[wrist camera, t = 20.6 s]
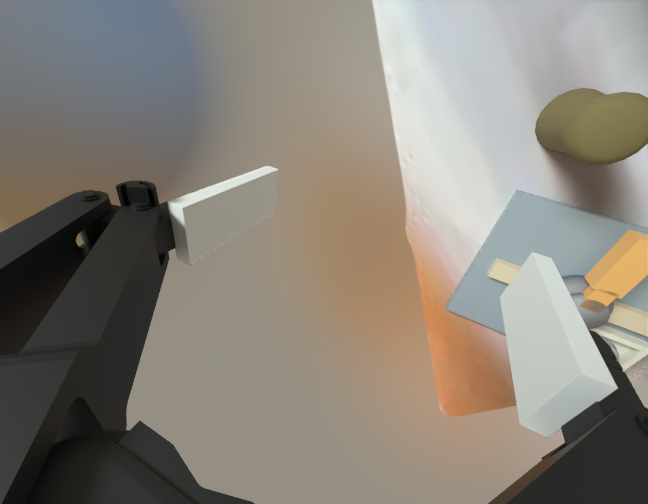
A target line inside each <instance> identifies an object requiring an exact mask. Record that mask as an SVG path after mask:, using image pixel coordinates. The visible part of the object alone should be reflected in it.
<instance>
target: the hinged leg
mask: <svg viewBox="0 0 648 504" xmlns="http://www.w3.org/2000/svg"><path fill="white" fill-rule="evenodd" d="M647 275H648V235H647V234H643V233H640V232H637V231H633V230H630V229H629V230H628V231H627V232H626V233H625V234H624V235H623V236H622V237H621V239H620V240H619V241H618V242H617V243H616V244H615V245H614V246H613V247H612V248H611V249H610V250H609V251H608V252H607V253H606V255H605V256H604V257H603V258H602V259H601V260H600V261H599V262H598V263H597V264H596V265H595V266H594V267H593V268H592V269H591V270H590V272H589V273H588V274H587V275H586V276H585V277H584V278H585V279H586V281H587V282H588V284H589V285H590V286H589V287H588V288H587V289H586V290H585V291H584V292H583V293H574V294H570V295H571V297H572V299H573V301H574V303H575V305H576V307H577V309H578V311H579V313H580V315H581V317H582V319H583V321H584V323H585V325H586V327H587V329H594V328H598V327H600V326H602V325H604V324H605V323H606V322H607V321H608V320H609V318H610V311H609V309H608V307H607V306H608V305H609V304H610V303H611V302H612V301H613V300H614V299H616V298H620V299H622V298H623V297H624V296H625V295H626V294H627V293H628V292H629V291H630V290H631V289H633V288H634V287H635V286H636V285H637V284H638V283H639V282H640V281H641V280H643V279H644V278H645V277H646V276H647Z"/></svg>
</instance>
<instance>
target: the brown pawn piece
mask: <svg viewBox="0 0 648 504" xmlns="http://www.w3.org/2000/svg"><path fill="white" fill-rule="evenodd" d="M535 132H536V136H537V140H538V141H539V142H540V143H541V145H542V146H543V147H545V148H547V149H549V150H552V151H558V152H567V153H568V154H569V155H570V156H571V157H572V158H573V159H575V160H577V161H579V162H581V163H583V164H589V165H604V164H612V163H615V162H618V161H621V160H624V159H626V158H628V157H630V156H632V155H633V154H635V153H637V152H638V151H639V150H640V149H642V148H643V147H644V146H645V145H646V144H647V143H648V98H647V97H645V96H643V95H641V94H639V93H629V92H620V93H614V94H609V95H605V94H603V93H601V92H599V91H597V90H595V89H586V88H581V89H576V90H571V91H568V92H566V93H564V94H562V95H559V96H558V97H557V98H555V99H554V100H553V101H551V102H550V103H549V104H548V105H547V106H546V107H545V108H544V109H543V111H542V112H541V113H540V116H539V118H538V120H537V122H536V129H535Z"/></svg>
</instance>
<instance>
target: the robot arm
mask: <svg viewBox="0 0 648 504" xmlns="http://www.w3.org/2000/svg"><path fill="white" fill-rule="evenodd" d="M277 183H278V169H276V168H273V167H269V166H265V167H262V168H260V169H257V170H254V171H251V172H248V173H246V174H243V175H240V176H238V177H235V178H232V179H229V180H226V181H223V182H221V183H218V184H215V185H212V186H209V187H207V188H204V189H201V190H198V191H195V192H192V193H190V194H186V195H184V196H182V197H178V198H175V199H172V200H170V201H167V202H164V203H162V204H159V201H158V197H157V191H156V186H155V185H154V184H153V183H150V182H147V181H128V182H124V183H120V184H118V185H117V186H116V189H117V193H118V196H119V200H120V204H121V206H116V205H111V202H110V199H109V195H108V194H107V193H105V192H101V191H93V190H89V191H87V190H86V191H82V192H78V193H75V194H72V195H70V196H68V197H66V198H64V199H62V200H60V201H59V202H57V203H55V204H53V205H51V206H49V207H47V208H46V209H44V210H42V211H40V212H38V213H37V214H35V215H33V216H31V217H29V218H27V219H25V220H23V221H22V222H20V223H18V224H16V225H14V226H12V227H11V228H9V229H7V230H5V231H3V232H1V233H0V504H254V503H253V502H250V501H247V500H243V499H240V498H236V497H233V496H229V495H226V494H222V493H219V492H215V491H212V490H208V489H205V488H203V487H201V486H200V485H199V484H198V483H197V481H196V480H195V478H194V477H193V475H192V474H191V472H190V470H189V469H188V467H187V466H186V464H185V463H184V461H183V460H182V458H181V457H180V455H179V453H178V452H177V450H176V449H175V447H174V446H173V444H171V443H170V442H169V441H167V440H166V439H165V438H163V437H162V436H160V435H159V434H158V433H156V432H155V431H153V430H152V429H151V428H149V427H148V426H146V425H145V424H144V423H142V422H141V421H139V422H138V423H137V424H136V425H135V426H134V427H133V428H132V429H131V430H126V425H127V424H126V408H127V402H128V399H129V395H130V392H131V389H132V385H133V381H134V378H135V375H136V371H137V368H138V364H139V361H140V357H141V354H142V351H143V347H144V344H145V340H146V337H147V334H148V330H149V326H150V323H151V320H152V316H153V312H154V309H155V306H156V303H157V299H158V296H159V292H160V289H161V285H162V282H163V279H164V275H165V272H166V268H167V264H168V261H169V253H168V251H170V250H172V249H174V248H175V249H176V255H177V259H178V260H180V261H182V262H184V263H186V264H188V265H192V264H194V263H196V262H197V261H199V260H200V259H202V258H204V257H205V256H207V255H208V254H210V253H212V252H213V251H215V250H217V249H218V248H220V247H221V246H223V245H225V244H226V243H228V242H229V241H231V240H233V239H234V238H236V237H237V236H239V235H241V234H242V233H244V232H246V231H247V230H249V229H250V228H252V227H253V226H255V225H256V224H258V223H260V222H262V221H263V220H265V219H266V218H268V217H270V216H271V215H273V214H274V213H275V212H276V198H277ZM79 233H80V235H81V237H82V240H83V242H84V244H83V245H82V246H80V247H79V246H78V245H77V243H76V237H77V235H78V234H79ZM500 302H501V308H502V315H503V321H504V327H505V334H506V340H507V346H508V353H509V359H510V365H511V372H512V378H513V384H514V391H515V397H516V403H517V410H518V415H519V422H520V425H522V426H524V427H526V428H528V429H530V430H532V431H534V432H536V433H539V434H540V435H543V436H545V437H547V438H548V437H550V436H551V435H552V434H554V433H556V432H557V431H558V430H560V429H562V432H563V436H564V440H565V443H564V444H562V445H561V446H559V447H558V448H556V449H555V450H553V451H552V452H550V453H549V454H547V455H546V456H544V457H542V461H540V462H539V463H538V464H537V465H536V466H534V467H533V468H532V469H530V470H529V471H528V472H527V473H525V474H524V475H523V476H522V477H521V478H520V479H518V480H517V481H516V482H514V483H513V484H512V485H511V486H509V487H508V488H507V489H506V490H504V491H503V492H502V493H501V494H499V495H498V496H497V497H496V498H494V499H493V500H492V501H491V502H490V503H488V504H648V409H647V408H645V407H644V406H643V404H642V402H641V400H640V399H639V397H638V395H637V393H636V392H635V390H634V388H633V386H632V384H631V383H630V381H629V379H628V377H627V375H626V374H625V373H624V372H623V368H622V367H621V365H620V363H619V362H618V361H617V358H616V356H615V354H614V352H613V351H612V349H611V347H610V346H609V345H608V344H607V343H606V342H605V341H604V339H603V338H602V337H601V336H600V335H599V334H598V333H597V332H594V331H592V330H589V329H587V327H586V325H585V323H584V321H583V319H582V317H581V315H580V313H579V311H578V309H577V307H576V305H575V303H574V301H573V299H572V297H571V295H570V293H569V291H568V289H567V287H566V286H565V284H564V282H563V280H562V278H561V276H560V274H559V272H558V270H557V268H556V266H555V264H554V262H553V260H552V258H549V257H546V256H543V255H540V254H537V253H534V252H532V253H531V254H530V256H529V257H528V258H527V260H526V261H525V263H524V264H523V265H522V267H521V268H520V270H519V271H518V272H517V274H516V275H515V277H514V278H513V279H512V281H511V282H510V284H509V285H508V286H507V288H506V289H505V291H504V292H503V293H502V295H501V296H500Z"/></svg>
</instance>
